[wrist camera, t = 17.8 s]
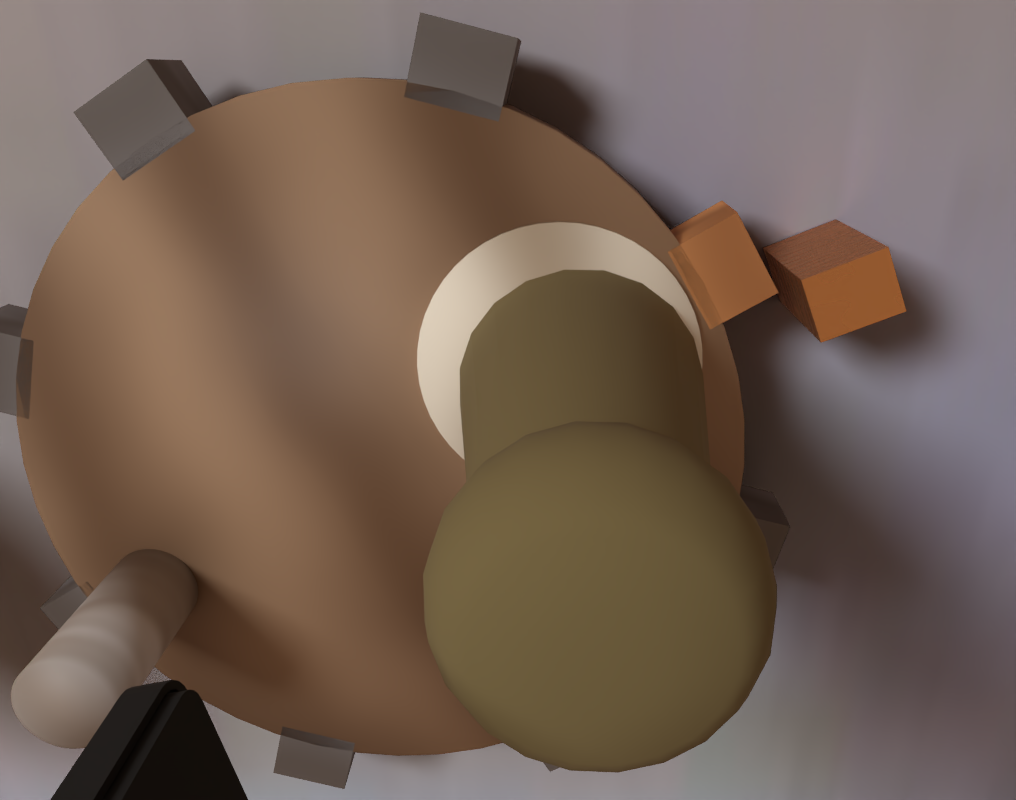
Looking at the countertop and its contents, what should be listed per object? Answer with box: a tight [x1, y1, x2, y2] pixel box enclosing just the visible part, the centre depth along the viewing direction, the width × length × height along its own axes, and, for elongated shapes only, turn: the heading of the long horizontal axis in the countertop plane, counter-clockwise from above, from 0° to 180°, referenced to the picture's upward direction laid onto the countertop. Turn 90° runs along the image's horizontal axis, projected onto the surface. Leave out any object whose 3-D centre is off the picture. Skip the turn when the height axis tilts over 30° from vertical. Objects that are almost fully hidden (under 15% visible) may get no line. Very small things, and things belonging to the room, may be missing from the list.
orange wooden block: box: [763, 220, 906, 342], centre depth 24 cm, size 19×12×4 cm, turn 129°
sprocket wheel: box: [0, 13, 790, 789], centre depth 22 cm, size 22×22×7 cm
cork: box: [423, 270, 777, 772], centre depth 17 cm, size 6×6×11 cm
